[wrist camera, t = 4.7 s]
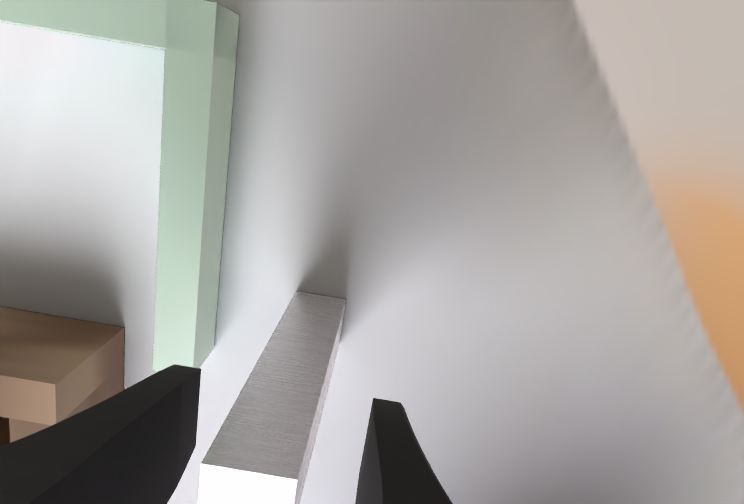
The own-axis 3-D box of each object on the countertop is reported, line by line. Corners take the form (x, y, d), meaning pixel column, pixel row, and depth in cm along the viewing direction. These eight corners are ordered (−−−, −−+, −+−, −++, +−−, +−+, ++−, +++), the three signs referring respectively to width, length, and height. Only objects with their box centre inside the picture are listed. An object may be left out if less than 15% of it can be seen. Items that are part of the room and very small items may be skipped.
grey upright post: (346, 299, 16) (297, 480, 8) (339, 344, 16) (286, 555, 9) (296, 291, 16) (201, 463, 8) (290, 336, 16) (195, 539, 9)
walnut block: (124, 327, 17) (55, 384, 13) (122, 462, 18) (59, 544, 15) (-37, 300, 17) (-147, 349, 13) (-26, 437, 18) (-122, 513, 15)
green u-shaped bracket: (239, 15, 14) (217, 2, 12) (213, 348, 17) (192, 376, 15) (-172, -54, 14) (-254, -77, 12) (-126, 290, 17) (-186, 312, 15)
